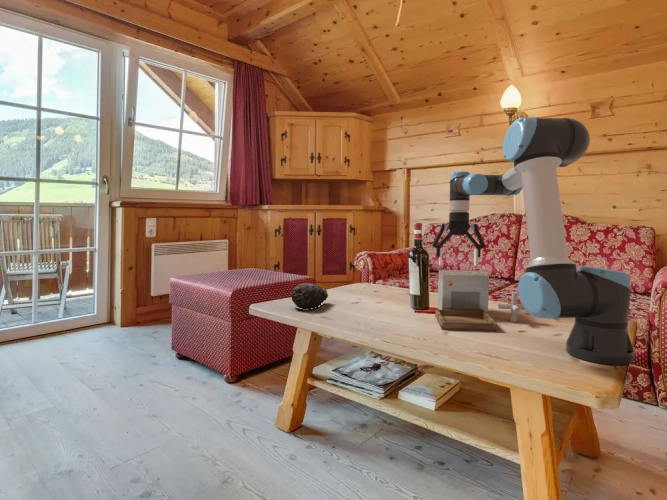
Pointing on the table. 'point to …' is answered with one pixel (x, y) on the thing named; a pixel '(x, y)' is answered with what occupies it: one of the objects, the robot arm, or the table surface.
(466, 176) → the robot arm
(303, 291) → the black oval piece
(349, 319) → the table surface
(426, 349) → the table surface
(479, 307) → the box
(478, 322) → the tray
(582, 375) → the table surface
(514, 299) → the pipe connector
